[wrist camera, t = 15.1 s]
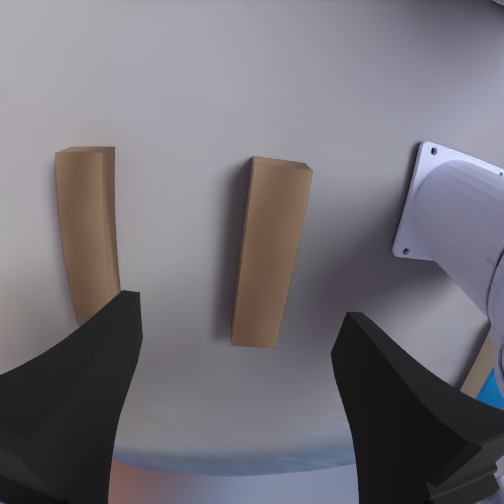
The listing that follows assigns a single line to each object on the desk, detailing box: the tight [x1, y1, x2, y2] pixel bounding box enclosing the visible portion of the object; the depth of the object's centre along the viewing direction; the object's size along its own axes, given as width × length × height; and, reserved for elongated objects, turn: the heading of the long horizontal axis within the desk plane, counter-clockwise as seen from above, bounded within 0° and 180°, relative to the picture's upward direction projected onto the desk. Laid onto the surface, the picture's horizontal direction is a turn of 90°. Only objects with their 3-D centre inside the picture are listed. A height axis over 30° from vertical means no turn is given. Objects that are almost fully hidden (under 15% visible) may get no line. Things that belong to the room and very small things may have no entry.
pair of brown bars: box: [55, 147, 313, 348], centre depth 19 cm, size 14×12×2 cm
